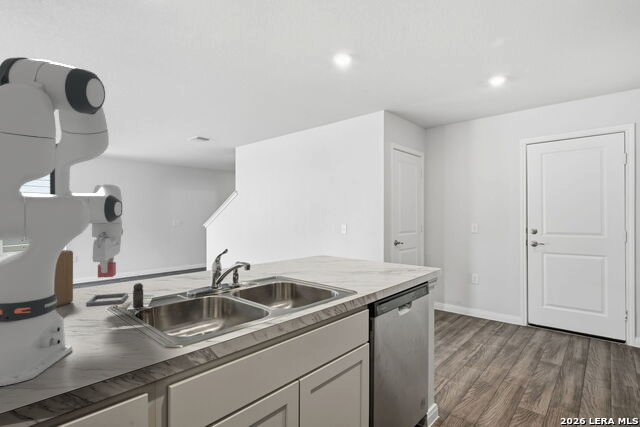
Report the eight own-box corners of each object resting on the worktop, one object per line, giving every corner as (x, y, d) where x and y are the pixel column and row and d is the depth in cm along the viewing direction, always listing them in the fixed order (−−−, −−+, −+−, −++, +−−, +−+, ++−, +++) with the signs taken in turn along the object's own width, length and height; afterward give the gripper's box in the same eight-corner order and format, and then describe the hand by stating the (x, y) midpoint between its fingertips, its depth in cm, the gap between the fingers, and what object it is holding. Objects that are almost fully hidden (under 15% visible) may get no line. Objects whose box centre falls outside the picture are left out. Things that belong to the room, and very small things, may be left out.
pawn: (142, 307, 116) (142, 283, 116) (132, 308, 115) (132, 284, 115) (143, 305, 119) (143, 281, 119) (133, 306, 118) (133, 282, 118)
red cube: (112, 276, 114) (112, 264, 114) (97, 277, 112) (97, 264, 112) (115, 274, 118) (115, 262, 118) (101, 274, 116) (101, 262, 116)
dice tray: (121, 305, 122) (122, 299, 122) (86, 308, 118) (86, 302, 118) (127, 297, 132) (127, 292, 132) (95, 300, 128) (95, 295, 128)
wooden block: (47, 310, 115) (47, 253, 115) (24, 308, 117) (24, 252, 117) (74, 302, 125) (74, 250, 125) (52, 300, 127) (52, 249, 127)
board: (148, 309, 116) (148, 307, 116) (125, 311, 114) (125, 309, 114) (155, 296, 135) (155, 294, 135) (135, 297, 133) (135, 295, 133)
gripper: (110, 233, 106) (109, 276, 106) (124, 229, 125) (123, 265, 126) (86, 234, 104) (86, 277, 104) (104, 229, 123) (104, 266, 123)
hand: (107, 271), depth 115 cm, fingers closed on red cube, 4 cm apart
